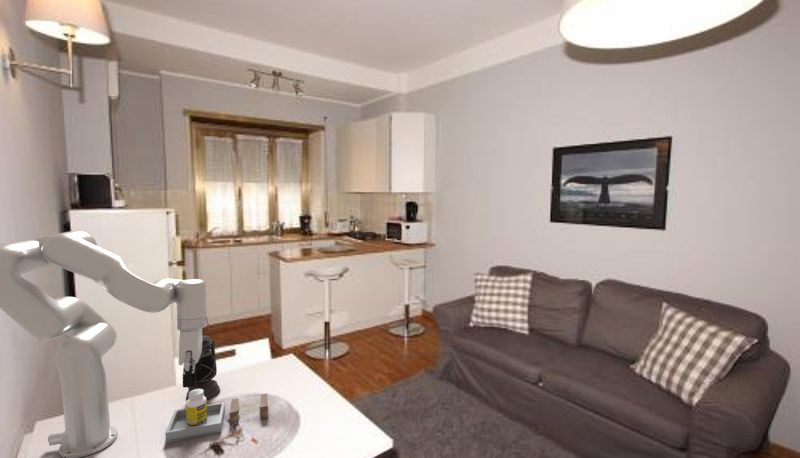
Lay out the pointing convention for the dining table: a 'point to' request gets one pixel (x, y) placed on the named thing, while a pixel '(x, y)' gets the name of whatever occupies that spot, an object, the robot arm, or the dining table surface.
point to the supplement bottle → (196, 408)
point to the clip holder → (235, 409)
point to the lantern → (207, 370)
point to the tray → (182, 431)
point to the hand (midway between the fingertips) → (192, 378)
